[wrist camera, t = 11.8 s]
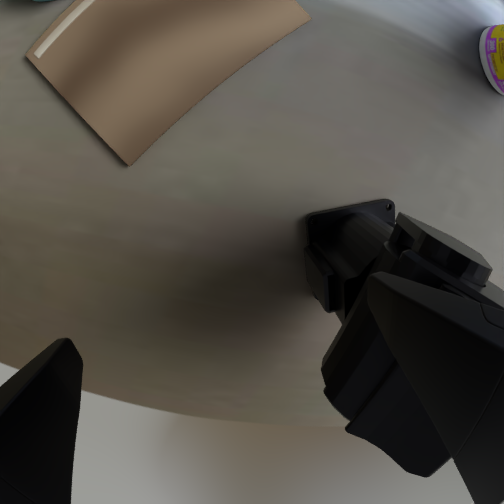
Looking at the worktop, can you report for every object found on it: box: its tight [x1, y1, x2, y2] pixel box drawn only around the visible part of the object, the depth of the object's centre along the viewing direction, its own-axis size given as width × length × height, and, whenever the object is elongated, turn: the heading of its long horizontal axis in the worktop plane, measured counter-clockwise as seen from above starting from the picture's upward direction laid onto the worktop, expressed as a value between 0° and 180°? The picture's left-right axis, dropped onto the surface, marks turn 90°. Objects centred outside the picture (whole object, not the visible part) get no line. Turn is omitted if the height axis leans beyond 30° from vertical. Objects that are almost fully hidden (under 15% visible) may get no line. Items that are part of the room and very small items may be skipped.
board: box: [25, 0, 312, 167], centre depth 14 cm, size 11×14×1 cm
